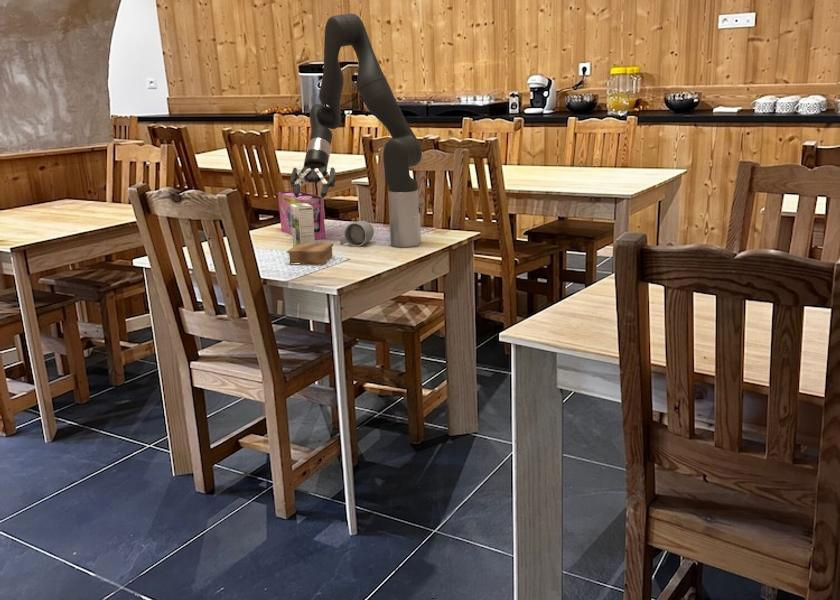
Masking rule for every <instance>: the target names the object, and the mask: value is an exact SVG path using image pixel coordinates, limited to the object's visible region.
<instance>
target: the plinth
mask: <svg viewBox="0 0 840 600" xmlns="http://www.w3.org/2000/svg"><path fill="white" fill-rule="evenodd" d="M333 246H334V242H333V243H332V242H315V243H298V244H297V245H295V246H294V247H293V246H292V247H291V248H289V249H288V250H287V251H286V253H287V254H289V255H288V256H289V264H290V263H300V264H299V265H316V264H323V265H325V264H324V263H325V262H326V261H327V260H328V261H329V260H330V259H331V258H333V257H332V256H333ZM328 261H327V262H328ZM327 262H326V263H327Z"/></svg>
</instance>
